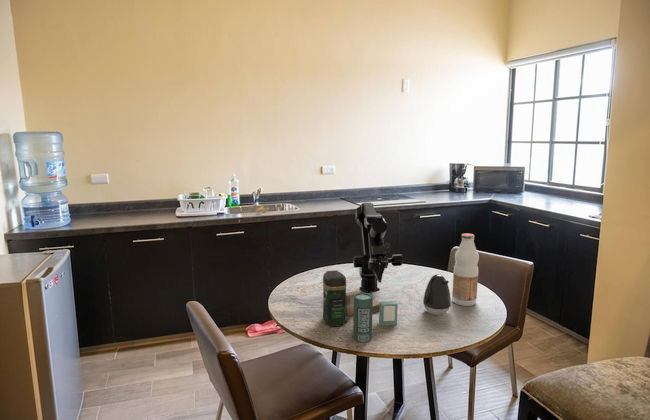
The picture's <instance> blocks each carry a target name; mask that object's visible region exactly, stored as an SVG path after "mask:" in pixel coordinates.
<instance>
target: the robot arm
mask: <svg viewBox="0 0 650 420" xmlns="http://www.w3.org/2000/svg"><path fill="white" fill-rule="evenodd" d="M354 215H355V220H356V224H357V226H358V227H360V228H361V236H362V246H363V248H362V249H363V255H354V256H353V261H352V262H353V268H355V269H356V268H357V269H359V273H358V274H359V277H360V278H361V280H360V287H358V288H359V289H360V290H362V291H364V292H365V293H368V294H370V293H373V292H376V291H379V290H380V287H378V283H379V284H380V283H382V279H383V275H384V271H385V269H388V267H389V264H391V265H392V266H393V267H402V266H403V263H404V256H403V255H402V253H401V254H399V253H398V254H392V255H391V257H386V256H387V253H389V252H391V243H385V242H384V237H385V235H386V232H387V230H388V222H387V221H386V220H385V217H383V215H382V214H381V213H378V212H376V210H375V207H374V203H372V202H363V203H361V204H360V205H359V206H358V207H356V209H355V213H354Z"/></svg>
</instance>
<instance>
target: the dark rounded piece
mask: <svg viewBox="0 0 650 420" xmlns="http://www.w3.org/2000/svg"><path fill="white" fill-rule="evenodd" d="M448 284H449V280H446V278H445V276H443V275H441V274H434V275H432V276H431V278H430V279H429V280H428V283H427V285H426V287H425V291H424V294H423V300H422V302H423V305H424V309H425V311H427V313H429V314H430V315H433V316H442V315H445V314H447V313H448V311H449V310H450V307H451V305H452V299H451V298H452V297H451V293H450V292H451V291H450V288H449V285H448Z"/></svg>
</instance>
